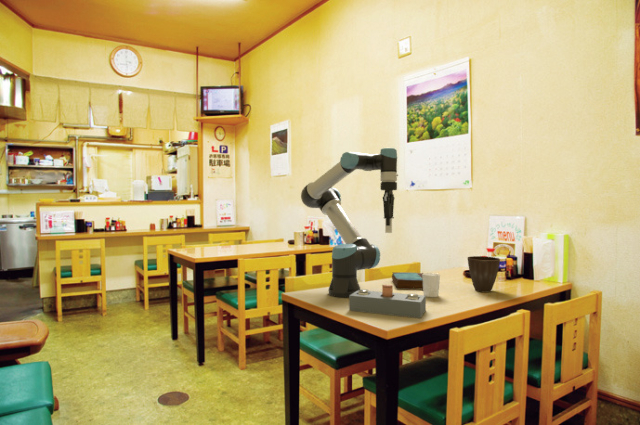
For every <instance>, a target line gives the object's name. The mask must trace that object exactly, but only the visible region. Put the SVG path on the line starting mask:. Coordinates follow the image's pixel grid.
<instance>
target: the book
mask: <svg viewBox="0 0 640 425" xmlns="http://www.w3.org/2000/svg"><path fill="white" fill-rule="evenodd" d="M423 273H424V272H397V271H396V272H392V275H391V280H392V282H393V284H394V286H396V288H397V290H398V289H399V290H403V289H404V290H405V289H406V290H408V289H409V290H412V289H413V290H423V279H422V274H423Z"/></svg>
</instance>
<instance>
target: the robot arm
mask: <svg viewBox="0 0 640 425" xmlns="http://www.w3.org/2000/svg"><path fill="white" fill-rule="evenodd" d="M397 151H398V150H397V149H396V148H394V147H383V148H381V149H380V152H379V153H375V154H369V153H362V152H355V151H345V152H343V153H342V155H341V157H340V160H339V162H338V163H336V164H335V165H333V166H332V167H330V169H328V170H327V171H326V172H324V174H322V175H321V176H320V177H318V178H317V179H316V180H315V181H311V182H308V184H306V185H305V186H304V187H303V189H302V190H301V193H300V198H301V199H300V200H301V201H302V204H304V206H306V207H307V208H310V209H319V210H320V211H321V213H322V214H323V215H326V216H327V217H328V218H329V220H330V222H331V223H332V225H333V226H334V228H335V230H336V231H337V233H338V234H339V235H340V237H341V239H342V240H343V242H344V243H343V244H341V243H340V244H337V245H335V246H333V248H332V249H331V251H332V252H331V268H332V270H331V271H332V272H331V280H330V283H329V287H328V296H331V297H335V298H349V295H351V294H353V293H354V292H356V291H358V290H361V287H360V284H359V281H358V276H357V275H358V271H361V270H362V271H363V270H371V269H373V268H376V267H377V266H378V265H379V263H380V260H381V250H380V249H379V247H378V246H377V245H375V244H371V243H370V242H369V241H368V239H367V238H366V237H362V235H361V234H360V233H359V231H358V230H357V228H356V227H355V225H354V223H352V221H351V219H350V218H349V217H348V215H347V214H346V212H345V211H344V209H343V208H342V206H341V205H342V197H341V192H340V191H339V190H338V189H337V188H336V187H334V186H335V185H336V184H338V183H339V182H341V181H342V180H344V179H345V178H346V177H348V175H350V174H352V173H353V172H354V171H356V170H363V171H365V172H372V171H379V170H380V175H379V176H380V190H381V191H384V192H383V193H384V194H383V196H382V201H383V202H382V203H383V219H385V220H384V221H385V223H384V224H385V230H384V231H385V234H386V233H387V234H392V233H393V219H394V218H395V217H394V208H395V207H394V206H395V194H394V193H393V192H394V191H397V190H398V182H397V180H398V176H399V174H398V173H397V172H398V168H397V167H398V153H397Z"/></svg>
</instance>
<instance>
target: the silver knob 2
mask: <svg viewBox="0 0 640 425" xmlns="http://www.w3.org/2000/svg"><path fill="white" fill-rule="evenodd" d="M406 294H407V299H415V300H418V295H419V294H417V293H406Z"/></svg>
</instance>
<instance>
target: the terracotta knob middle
mask: <svg viewBox="0 0 640 425" xmlns="http://www.w3.org/2000/svg"><path fill="white" fill-rule="evenodd" d="M393 288H394V286H393V285H392V284H382V289H381V292H382V297H393V293H394V292H393Z"/></svg>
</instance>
